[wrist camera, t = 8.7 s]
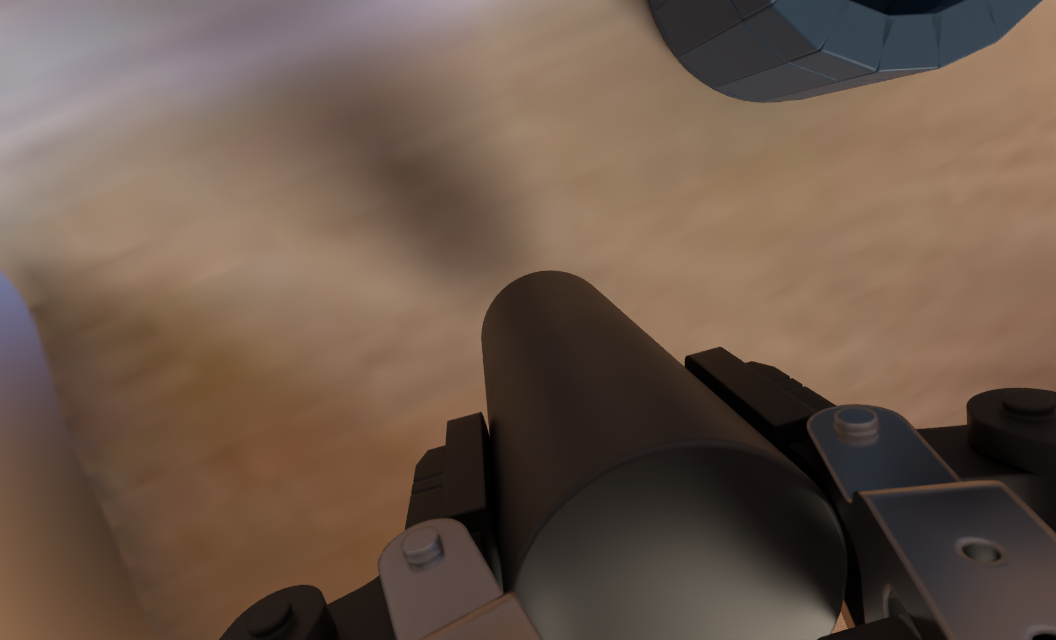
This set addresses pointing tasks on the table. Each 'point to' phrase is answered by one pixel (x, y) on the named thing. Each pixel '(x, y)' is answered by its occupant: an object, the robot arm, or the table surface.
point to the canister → (641, 486)
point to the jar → (825, 40)
